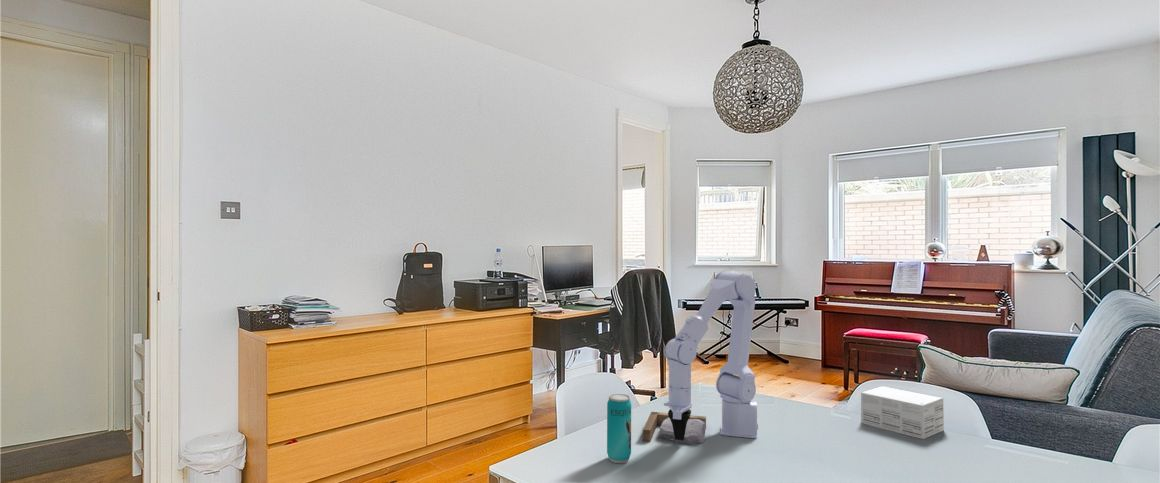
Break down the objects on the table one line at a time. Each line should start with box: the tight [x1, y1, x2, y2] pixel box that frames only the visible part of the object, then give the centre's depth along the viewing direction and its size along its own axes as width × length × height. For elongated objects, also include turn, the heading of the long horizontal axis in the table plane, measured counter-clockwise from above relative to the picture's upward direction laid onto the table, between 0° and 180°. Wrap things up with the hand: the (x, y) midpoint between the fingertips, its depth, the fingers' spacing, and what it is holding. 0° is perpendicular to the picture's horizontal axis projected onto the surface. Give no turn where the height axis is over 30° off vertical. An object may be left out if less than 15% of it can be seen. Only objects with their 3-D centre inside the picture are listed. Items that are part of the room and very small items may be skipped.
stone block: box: [659, 418, 707, 445], centre depth 145 cm, size 12×5×10 cm
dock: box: [642, 411, 707, 443], centre depth 147 cm, size 16×16×3 cm
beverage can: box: [606, 393, 632, 464], centre depth 129 cm, size 6×6×15 cm
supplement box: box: [860, 385, 945, 440], centre depth 155 cm, size 17×13×9 cm
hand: (679, 439), depth 139 cm, fingers closed
